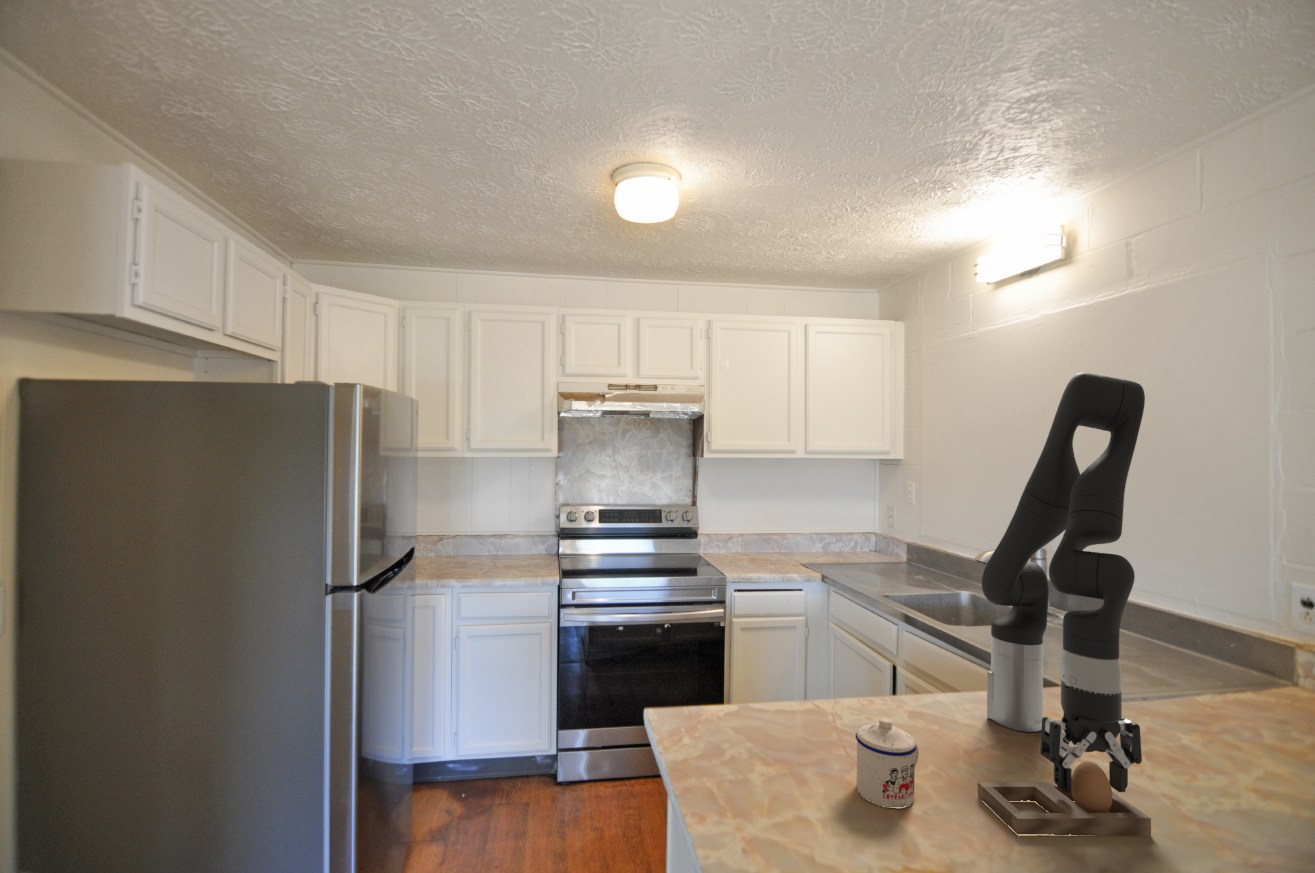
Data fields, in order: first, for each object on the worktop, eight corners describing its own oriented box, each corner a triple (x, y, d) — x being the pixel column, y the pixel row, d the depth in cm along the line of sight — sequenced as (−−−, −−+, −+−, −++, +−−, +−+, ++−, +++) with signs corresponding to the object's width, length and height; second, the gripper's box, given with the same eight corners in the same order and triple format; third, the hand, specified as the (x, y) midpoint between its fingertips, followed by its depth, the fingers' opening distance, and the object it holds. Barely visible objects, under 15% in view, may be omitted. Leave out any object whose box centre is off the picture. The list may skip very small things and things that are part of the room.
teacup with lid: (888, 817, 88) (889, 737, 88) (842, 786, 96) (843, 713, 96) (940, 797, 93) (941, 722, 94) (893, 770, 101) (894, 701, 102)
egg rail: (1017, 836, 84) (1017, 818, 84) (977, 798, 93) (978, 782, 93) (1151, 835, 85) (1150, 817, 85) (1098, 797, 94) (1098, 781, 95)
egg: (1121, 823, 88) (1121, 768, 88) (1094, 827, 86) (1094, 772, 87) (1087, 803, 93) (1087, 752, 93) (1062, 807, 91) (1062, 755, 92)
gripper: (1114, 673, 94) (1114, 776, 94) (1029, 672, 94) (1028, 776, 93) (1156, 692, 87) (1157, 803, 86) (1064, 691, 86) (1063, 804, 86)
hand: (1090, 789), depth 90 cm, fingers open, 8 cm apart
